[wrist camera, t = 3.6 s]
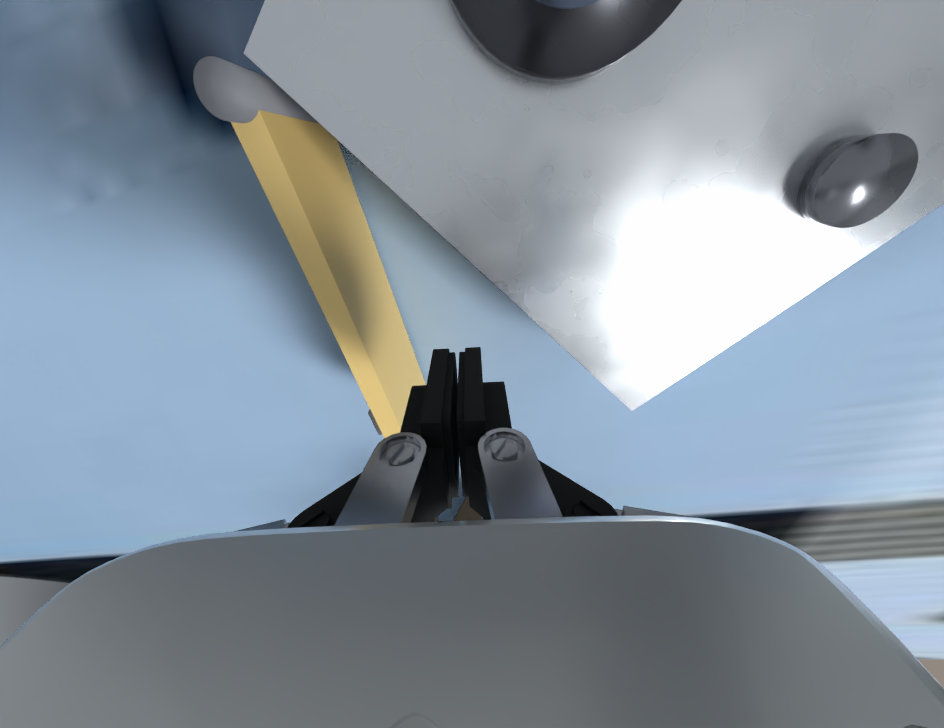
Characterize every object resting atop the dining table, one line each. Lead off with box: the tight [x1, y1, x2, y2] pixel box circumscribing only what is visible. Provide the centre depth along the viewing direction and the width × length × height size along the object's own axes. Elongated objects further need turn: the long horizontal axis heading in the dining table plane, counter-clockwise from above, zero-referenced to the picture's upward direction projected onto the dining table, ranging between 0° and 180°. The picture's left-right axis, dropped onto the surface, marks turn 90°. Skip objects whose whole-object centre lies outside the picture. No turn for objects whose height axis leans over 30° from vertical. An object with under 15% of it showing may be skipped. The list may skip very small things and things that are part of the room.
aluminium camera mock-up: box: [244, 0, 944, 411], centre depth 12 cm, size 18×13×8 cm
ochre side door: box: [193, 56, 426, 438], centre depth 16 cm, size 16×2×7 cm, turn 13°
